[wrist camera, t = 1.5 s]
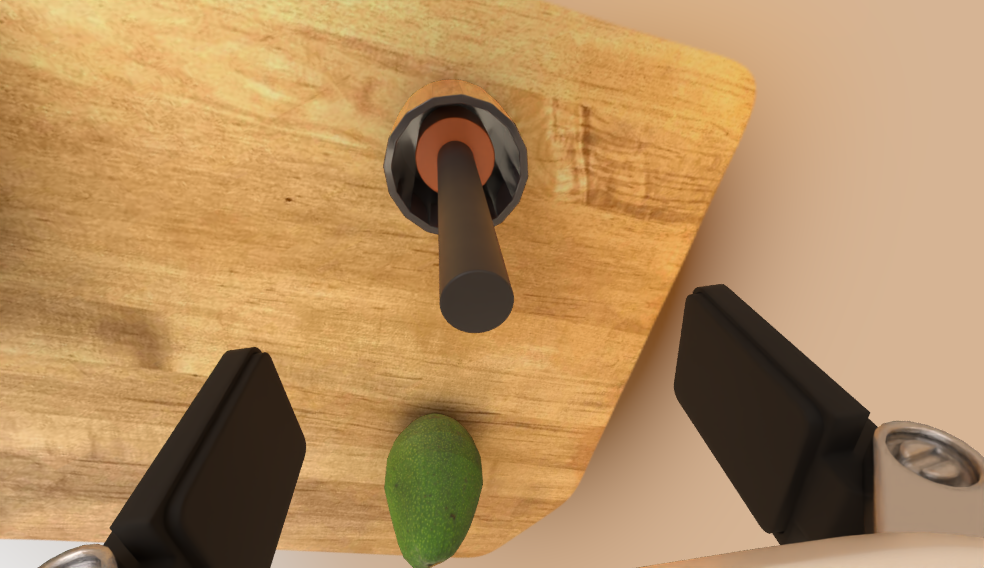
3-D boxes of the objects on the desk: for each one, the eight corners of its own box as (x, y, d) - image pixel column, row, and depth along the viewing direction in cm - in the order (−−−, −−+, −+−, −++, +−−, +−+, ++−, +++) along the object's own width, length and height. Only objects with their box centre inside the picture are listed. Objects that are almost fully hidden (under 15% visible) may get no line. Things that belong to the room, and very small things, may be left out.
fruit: (379, 448, 42) (361, 587, 32) (404, 386, 39) (393, 519, 28) (460, 462, 44) (468, 597, 34) (490, 404, 41) (509, 534, 30)
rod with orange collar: (411, 109, 27) (377, 239, 11) (484, 101, 28) (556, 216, 11) (423, 180, 30) (409, 377, 13) (490, 172, 30) (559, 356, 13)
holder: (384, 85, 27) (369, 104, 21) (504, 73, 27) (523, 87, 21) (406, 201, 31) (399, 245, 25) (512, 188, 31) (531, 228, 25)
